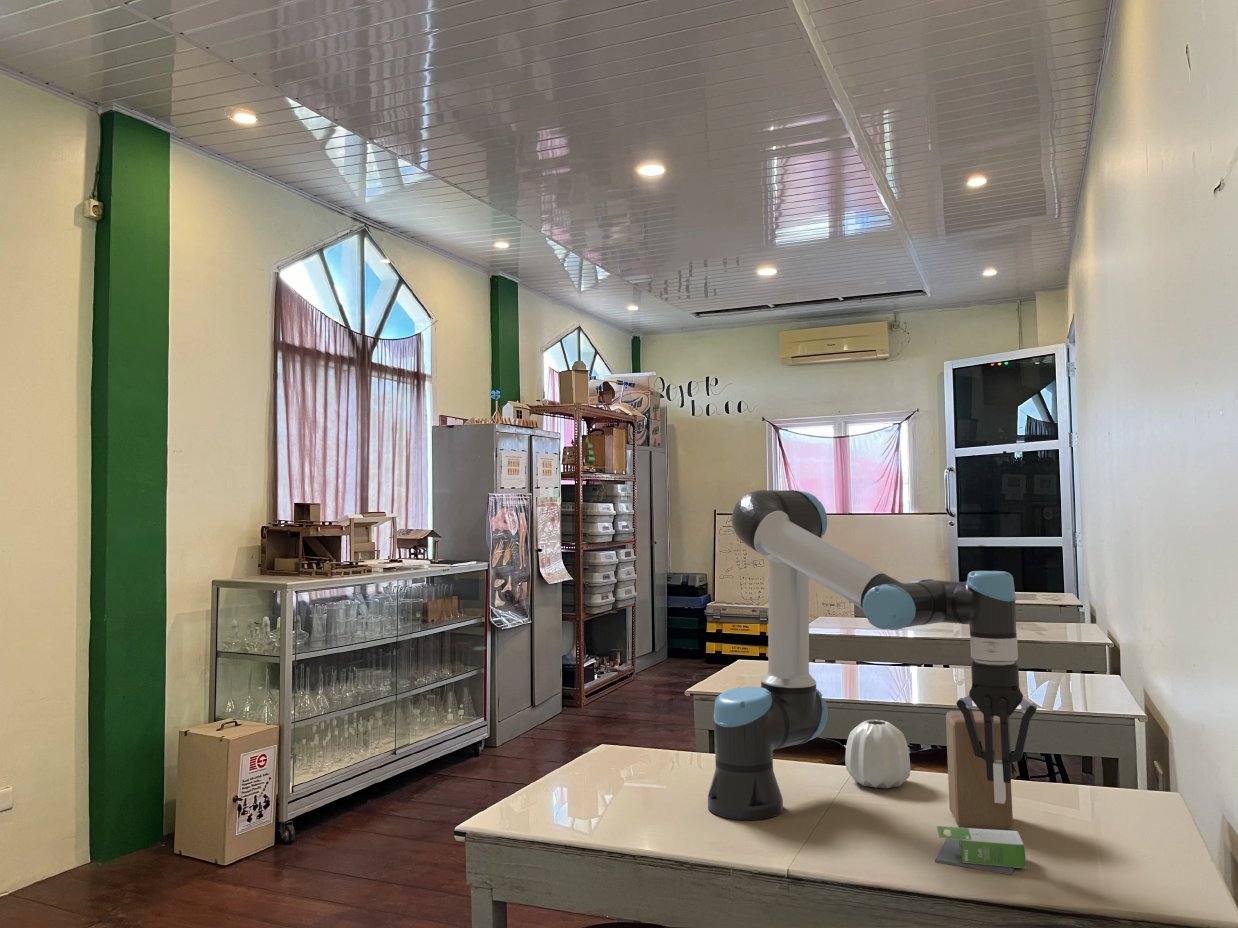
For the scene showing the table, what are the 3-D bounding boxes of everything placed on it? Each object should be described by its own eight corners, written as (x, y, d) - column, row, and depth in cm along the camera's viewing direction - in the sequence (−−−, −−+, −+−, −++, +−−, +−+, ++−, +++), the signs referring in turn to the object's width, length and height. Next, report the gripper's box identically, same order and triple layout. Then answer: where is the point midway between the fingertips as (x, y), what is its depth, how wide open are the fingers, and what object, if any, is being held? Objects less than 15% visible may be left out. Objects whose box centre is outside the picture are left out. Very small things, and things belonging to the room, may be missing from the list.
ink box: (1020, 854, 152) (937, 847, 156) (1018, 830, 153) (936, 824, 157) (1026, 869, 146) (939, 861, 150) (1025, 844, 146) (938, 837, 150)
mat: (934, 861, 151) (934, 859, 151) (947, 839, 161) (946, 837, 161) (1011, 874, 145) (1011, 872, 145) (1019, 850, 155) (1019, 848, 155)
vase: (843, 774, 203) (841, 714, 204) (905, 775, 201) (903, 715, 202) (850, 792, 190) (848, 728, 191) (917, 794, 188) (915, 729, 189)
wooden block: (1014, 831, 165) (1009, 722, 166) (957, 828, 167) (953, 720, 168) (1002, 814, 174) (998, 710, 176) (948, 811, 176) (944, 709, 178)
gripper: (950, 661, 153) (956, 801, 152) (1033, 666, 147) (1040, 812, 145) (957, 655, 160) (963, 789, 158) (1037, 660, 153) (1044, 799, 152)
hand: (1000, 800), depth 152 cm, fingers closed
